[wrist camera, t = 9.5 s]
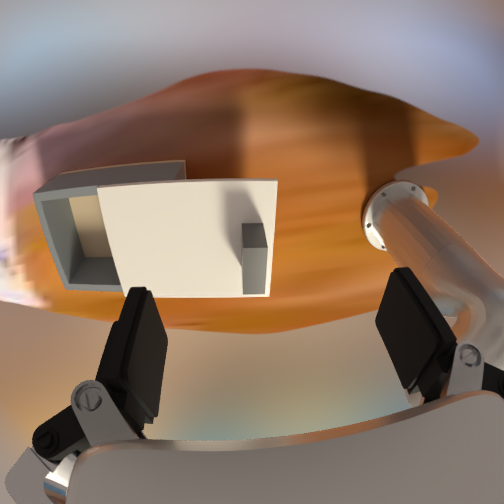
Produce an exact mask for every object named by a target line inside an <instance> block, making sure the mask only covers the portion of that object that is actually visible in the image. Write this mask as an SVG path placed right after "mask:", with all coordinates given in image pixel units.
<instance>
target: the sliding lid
mask: <svg viewBox="0 0 504 504" xmlns="http://www.w3.org/2000/svg"><path fill="white" fill-rule="evenodd" d="M277 183H278V181H277V179H273V178H224V179H188V180H166V181H149V182H135V183H123V184H112V185H101V186H99V187H98V188H97V192H98V197H99V202H100V207H101V211H102V216H103V220H104V225H105V229H106V233H107V237H108V241H109V245H110V248H111V252H112V256H113V259H114V263H115V266H116V270H117V273H118V276H119V280H120V283H121V286H122V289H123V292H124V295H125V297H127V294H128V292H129V289H130V288H131V287H146V288H147V290H151V292H152V295H153V297H173V298H218V297H269V293H270V281H271V269H272V255H273V242H274V228H275V214H276V199H277Z"/></svg>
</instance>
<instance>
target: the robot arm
mask: <svg viewBox="0 0 504 504" xmlns="http://www.w3.org/2000/svg"><path fill="white" fill-rule="evenodd" d="M362 226H363V231H364V234H365V236H366V238H367V239H368V241H369V242H370V243H371V244H372V245H373V246H374V247H375V248H378V249H380V250H384V251H388V252H389V254H390V255H391V256H392V258H393V259H394V261H395V262H396V263H397V265H398V266H399V268H395V269H394V271H393V272H391V274H390V277H389V280H388V283H387V286H386V289H385V292H384V295H383V298H382V301H381V304H380V307H379V310H378V313H377V316H376V320H375V323H376V326H377V329H378V331H379V333H380V335H381V337H382V340H383V342H384V344H385V346H386V349H387V351H388V353H389V355H390V358H391V360H392V362H393V365H394V367H395V369H396V372H397V374H398V377H399V379H400V381H401V384H402V386H403V388H404V390H405V395H406V398H407V401H408V403H409V405H410V406H411V408H410V409H407V410H404V411H401V412H398V413H394V414H391V415H388V416H384V417H380V418H376V419H373V420H369V421H365V422H361V423H356V424H352V425H348V426H343V427H338V428H333V429H328V430H322V431H316V432H310V433H304V434H297V435H289V436H281V437H271V438H260V439H246V440H224V441H179V440H152V439H148V438H147V437H146V436H145V434H144V433H143V432H142V430H143V429H144V423H148V424H153V419H154V417H157V416H158V411H159V403H160V395H161V387H162V379H163V372H164V365H165V359H166V352H167V346H168V338H167V335H166V332H165V329H164V326H163V323H162V321H161V318H160V315H159V312H158V309H157V306H156V303H155V301H154V298H153V295H152V292H151V290H147V288H146V287H131V288H130V289H129V292H128V294H127V297H126V300H125V303H124V305H123V308H122V311H121V314H120V317H119V320H118V321H115V322H114V323H113V325H112V328H111V331H110V334H109V336H108V339H107V343H106V345H105V349H104V352H103V355H102V358H101V361H100V365H99V368H98V372H97V375H96V379H95V381H94V380H87V381H84V382H81V383H80V384H79V385H77V386H76V387H75V389H74V390H73V392H72V395H71V405H70V406H68V407H67V408H66V409H64V410H62V411H61V412H59V413H58V414H57V415H55V416H53V417H52V418H51V419H49V420H48V421H46V422H45V423H43V424H41V425H40V426H39V427H38V428H37V429H36V430H35V432H34V434H33V438H32V444H33V446H32V448H30V447H28V448H27V449H26V450H25V452H24V453H23V454H22V455H21V457H20V458H19V459H18V461H17V462H16V463H15V464H14V466H13V467H12V468H11V470H10V471H9V472H8V474H7V476H6V479H5V485H6V489H7V491H8V493H9V494H10V495H11V497H12V498H13V499H14V501H15V502H16V503H17V504H504V278H503V277H502V276H501V275H500V274H499V273H498V272H497V271H496V270H494V269H493V268H492V267H491V266H490V265H489V264H488V263H487V262H486V261H485V260H484V259H483V258H482V257H481V256H480V255H479V254H478V253H477V252H476V251H475V250H474V249H473V248H472V247H471V246H470V245H469V244H468V243H467V242H466V241H465V240H464V239H463V238H462V237H461V236H460V235H459V234H458V233H457V232H456V231H455V230H454V229H453V228H452V227H451V226H450V225H449V224H447V223H446V222H445V221H444V220H443V219H442V218H441V217H440V216H439V215H437V214H436V213H435V212H434V211H433V210H432V209H431V208H430V207H429V204H428V199H427V196H426V194H425V193H424V191H423V190H422V189H421V188H420V187H419V186H418V185H416V184H415V183H413V182H410V181H407V180H395V181H392V182H389V183H387V184H385V185H383V186H382V187H381V188H379V189H378V190H377V191H376V192H375V193H374V194H373V195H372V197H371V198H370V199H369V201H368V203H367V205H366V207H365V209H364V213H363V218H362ZM443 316H446V317H455V318H457V319H456V321H455V323H454V324H453V325H452V326H451V328H450V327H449V325H448V323H447V322H446V320H445V318H444V317H443ZM67 487H68V489H67ZM66 490H67V496H66Z"/></svg>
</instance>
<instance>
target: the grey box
mask: <svg viewBox="0 0 504 504" xmlns="http://www.w3.org/2000/svg"><path fill="white" fill-rule="evenodd" d="M166 180H186V164H185V160H168V161H154V162H141V163H131V164H121V165H111V166H103V167H95V168H88V169H80V170H74V171H67V172H61V173H59V174H58V175H57V176H55V177H54V178H53V179H51V180H50V181H48V182H47V183H46V184H45V185H43V186H42V187H41V188H39V189H38V190H37V191H35V192H34V193H33V198H34V201H35V205H36V209H37V212H38V215H39V219H40V222H41V225H42V229H43V232H44V235H45V238H46V241H47V243H48V246H49V249H50V252H51V255H52V257H53V260H54V263H55V265H56V268H57V270H58V273H59V275H60V278H61V280H62V282H63V285H64V287H65V289H66V290H86V291H114V292H123V289H122V286H121V283H120V280H119V276H118V273H117V270H116V266H115V263H114V259H113V256H112V252H111V248H110V245H109V241H108V237H107V233H106V229H105V225H104V220H103V216H102V211H101V207H100V202H99V197H98V192H97V188H98V187H99V186H101V185H112V184H123V183H135V182H149V181H166Z"/></svg>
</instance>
